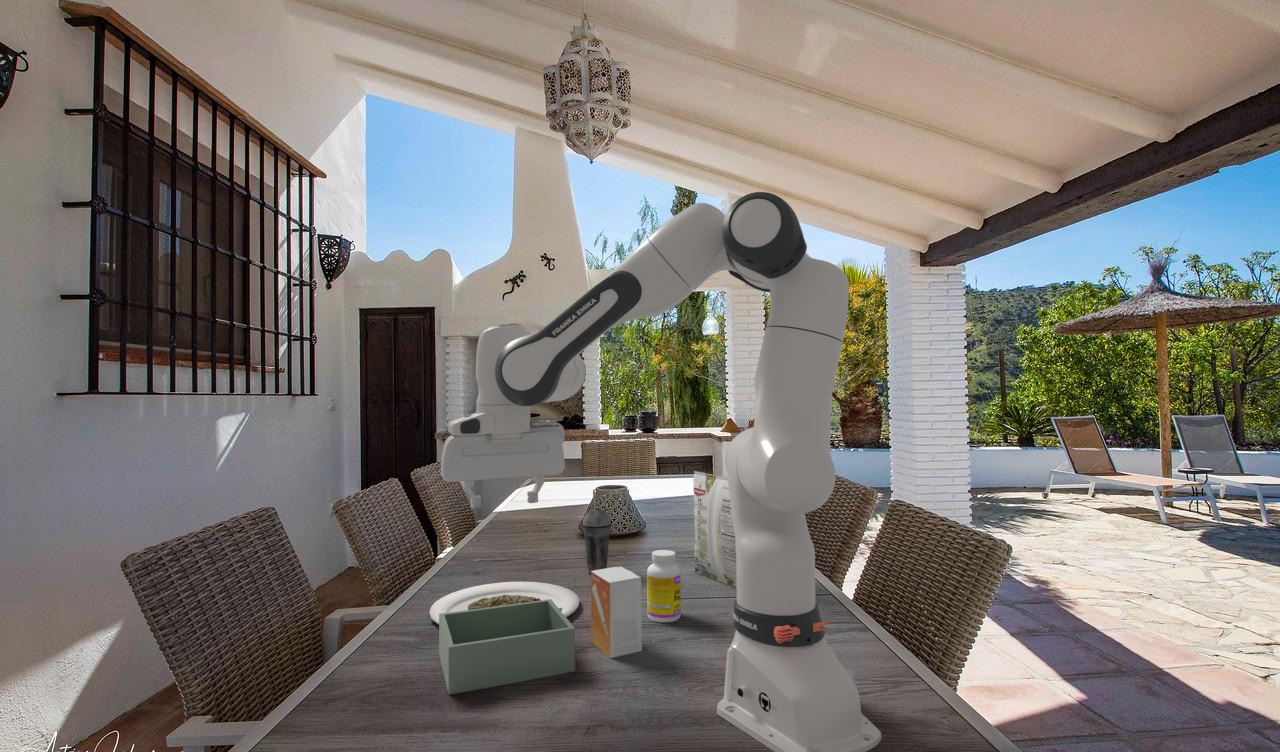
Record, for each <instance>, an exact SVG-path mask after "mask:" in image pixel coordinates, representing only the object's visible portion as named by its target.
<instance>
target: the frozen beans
mask: <svg viewBox="0 0 1280 752" xmlns="http://www.w3.org/2000/svg"><path fill="white" fill-rule="evenodd" d="M693 472H694V474H693V479H692V480H693V481H692V482H693V511H694V513H693V514H694V535H695V537H694V538H695V539H694V554H693V555H694V556H693V557H694V558H693V559H694V560H693V561H694V562H693V563H694V572H695V573H696V574H700V575H702V576H705V577H708V578H710V579H713V580H715V581H719V582H721V583H724V584H727V585H730V586H732V587H734V588H737V586H736V543H735V534H734V527H733V520H732V513H731V505H730V496H729V486H728V476H720V475H716V474H711V473H706V472H702V471H696V470H695V471H693Z"/></svg>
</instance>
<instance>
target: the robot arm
mask: <svg viewBox="0 0 1280 752" xmlns="http://www.w3.org/2000/svg"><path fill="white" fill-rule="evenodd" d="M804 236H805V235H804V232H803V230H802V227H801V225H800V220H799V219H798V215H797V214H796V212H795V211H794V209H793V208H792V207H791V205H790V204H789V203H788V202H787V201H785V200H784V199H783V198H781V197H780V196H778V195H776V194H773V193H771V192H767V191H766V192H765V191H756V192H755V191H754V192H750V193H748V194H746V195H743V196H742V197H740V198H738V199H737V200H735V202H734V203H733V204H732V205H731V206H730V207H729V209H728V210H727V211H726V214H725V213H724V212H723V211H721V210H720V209H719V208H717V207H716V206H714V205H712V204H709V203H707V202H706V203H705V202H697V203H693V204H692V205H690V206H688V207H687V208H684V209H683V210H682V211H680V212H679V213H677V214H676V215H674V216H673V217H671V218H669V219H668V220H667V221H666V222H664V223H663V224H662V225H661V226H659V227H658V228H657V229H655V231H653V232H652V233H651V234H650V235H649V236H648V237H647V238H646V239H644V241H642V243H640V244H639V245H638V246H637V247H636V248H635V249H634V250H633V251H632V252H630V254H629V255H627V256H626V258H625V259H624V260H623V261H622V262H620V263H619V264H618V266H616V267H615V268H614V269H613V270H612V271H610V273H608V274H607V275H606V276H605V277H604V278H603V279H602V280H601V281H599V282H598V283H597V284H596V285H594V286H593V287H592V288H591V289H589V290H588V291H586V292H585V293H584V294H583V295H582V296H580V297H579V298H578V299H577V300H575V301H574V302H573V303H572V304H571V305H570V306H568V307H567V308H566V309H565V310H563V311H562V312H561V313H560V314H559V315H557V316H556V317H554V319H553V320H552V321H550V322H548V323H547V324H546V325H545V326H544V327H542V328H541V329H539V330H537V331H535V332H532V331H530V330H529V329H528V328H526V326H524V325H523V324H520V323H506V324H504V323H503V324H497V325H493V326H490V327H487V328H486V329H485V330H484V331H482V332H481V334H479V338H478V341H477V347H476V356H475V358H476V359H475V380H476V383H477V388H478V389H477V390H478V393H477V398H476V402H475V403H476V408H475V409H476V410H475V412H473V413H472V414H466V415H464V416H463V417H460V418H456V419H453V420H451V421H450V422H449V423H448V432H449V433H450V434H451V435H449V436H448V437H447V438H446V439H445V440H444V444H443V447H442V448H443V449H442V454H441V459H440V460H441V462H440V476H441V478H442V479H443V480H444V481H446V482H448V483H451V482H453V483H454V482H463V487H464V489H465V491H466V493H467V494H468V495H469V497H470V508H471V509H477V508H478V509H479V508H482V496H481V495H480V494H479V495H476V494H475V493H474V492H473V490H472V489H471V488H474V486H475V481H478V480H479V481H481V480H482V481H483V480H495V479H509V478H510V479H511V478H522V477H523V478H526V477H533V481H534V482H535V485H534V486H533V489H532V490H531V491H527V492H526V493H527V494H526V495H527V498H526V499H527V503H529V504H537V503H538V502H539V492H540V491H541V489H542V488H543V486H544V484H545V476H553V475H555V476H556V475H561V474H562V473H563V472H564V471H565V469H566V463H565V461H566V460H565V459H566V458H565V453H564V446H563V443H564V442H565V428H564V425H562V424H561V423H559V422H557V421H556V420H553V419H549V420H531V407H532V406H534V405H539V404H542V403H552V402H560V401H564V400H567V399H569V398H572V397H573V396H575V395H576V394H577V393H579V391H580V390H581V389H582V387H583V385H584V384H585V380H586V374H587V373H586V365H585V361H584V359H583V357H582V355H581V353H583V352H584V351H585V350H586V349H588V348H589V347H590V346H591V345H592V344H594V343H595V342H596V341H597V340H598V339H600V338H601V337H602V336H604V335H605V333H607V332H608V331H610V330H611V329H613V328H615V327H617V326H619V325H621V324H624V323H626V322H627V323H628V322H630V321H633V320H638V319H639V320H640V319H644V318H646V319H647V318H653V317H657V316H661V315H662V314H665V313H666V312H668V311H669V310H671V309H673V308H674V307H676V306H677V305H679V304H681V303H682V302H683V301H684V300H685V299H687V298H688V297H689V296H690V295H691V294H692V293H693V292H694V291H695V290H697V289H698V288H699V287H700V286H702V284H703V283H704V282H706V281H707V280H708V279H709V278H710V277H712V276H713V275H715V274H717V273H720V272H721V271H728V273H729V274H730V275H731V276H733V277H734V278H736V279H738V280H740V281H741V282H743V283H745V284H746V285H747V286H749V287H751V288H753V289H755V290H758V291H761V292H765V293H770V296H771V301H770V308H769V314H768V317H767V318H768V319H767V322H766V326H765V329H764V330H765V331H764V335H763V338H762V339H763V340H762V343H761V348H760V351H759V352H760V353H759V358H758V361H757V366H756V370H755V374H754V381H753V383H754V390H755V398H754V399H755V401H754V402H755V403H754V417H753V418H754V421H753V426H752V427H750V428H747V429H745V430H743V431H741V432H740V433H739V434H737V435H736V436H735V437H733V438H732V440H731V441H730V443H728V446H727V448H726V451H725V458H724V461H725V468H726V473H727V477H728V486H729V496H730V505H731V513H732V520H733V527H734V534H735V543H736V586H737V587H736V598H734V600H733V607H732V618H733V627H734V629H735V633H734V636H733V639H732V642H731V644H730V646H729V648H728V649H727V652H726V654H727V655H726V661H725V662H726V664H725V674H724V675H725V677H724V679H725V680H724V688H723V689H724V690H723V691H724V692H723V698H722V699H721V700H720V701H719V702H718V704H716V705H717V706H716V714H717V715H718V716H719V717H720V718H722V719H723V720H725V721H727V722H728V723H730V724H732V725H733V726H734V727H736V728H738V729H739V730H741V731H742V732H743V733H745V734H747V735H748V736H750V737H752V738H753V739H755V740H756V741H757V742H760V744H763V745H764V746H766V747H767V748H769V749H770V750H772V751H773V752H868V751H869V750H872V749H873V748H875V747H877V745H878V744H879V743H880V742H881V740H882V739H883V738H882V737H883V735H882V732H881V730H879V728H877V727H876V725H874V723H872V721H870V720H869V719H868V718H867V717H866V716H865V715H864V714H863V713H862V708H861V699H860V694H859V689H858V687H857V685H856V683H855V676H854V673H853V670H851V669H849V668H845V667H844V665H843V664H842V663H841V661H840V660H839V658H838V657H837V656H836V655H837V654H835V652H834V651H833V650H832V648H831V646H830V645H829V644H828V641H827V640H826V638H825V635H826V632H825V631H827V630H829V628H828V627H825V626H826V625H828V624H829V621H828V620H827V621H823V620H822V614H821V613H820V608H819V605H818V604H817V602H816V552H815V547H814V543H813V540H812V538H811V534H810V530H809V528H808V524H807V520H806V519H807V518H806V514H808V513H811V512H814V511H816V510H818V509H819V508H821V507H822V506H823V505H824V504H825V503H826V502H827V501H828V500H829V498H830V497H831V496H832V493H833V491H834V489H835V485H836V477H837V476H836V469H835V465H834V464H835V463H834V462H833V459H832V455H831V412H832V398H833V391H834V385H835V380H836V376H837V371H838V366H839V362H840V356H841V353H842V348H843V343H844V338H845V334H846V327H847V320H848V311H849V298H850V297H849V296H850V295H849V291H850V290H849V289H850V287H849V286H850V285H849V279H848V277H847V275H846V273H845V272H844V271H843V269H841V268H840V267H839V266H837V265H835V264H833V263H831V262H829V261H827V260H826V261H825V260H823V259H817V258H813V257H811V256H809V255H808V254H807V248H808V245H807V242H806V239H805V237H804Z"/></svg>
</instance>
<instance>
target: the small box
mask: <svg viewBox="0 0 1280 752" xmlns="http://www.w3.org/2000/svg"><path fill="white" fill-rule="evenodd" d="M642 601H643V600H642V577H641V576H640V575H638V574H636V573H634V572H633V571H632V570H629V569H626V568H625V567H623V566H613V567H607V568H606V569H600V570H594V571H591V573H590V643H591V644H592V645H594V646H595V647H596V648H597V649H599V650H600V651H601V652H602V653H603V654H604V655H606V657H608V658H609V659H613V658H617V657H621V656H626V655H630V654H634V653H638V652H639V653H640V652H642V651H643V641H642V639H643V635H642V633H643V631H642V630H643V629H642V628H643V626H642V625H643V624H642V623H643V621H642V620H643V619H642V617H643V615H642V614H643V613H642V612H643V611H642V610H643V609H642Z"/></svg>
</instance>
